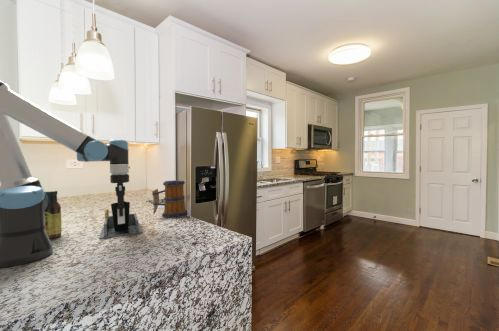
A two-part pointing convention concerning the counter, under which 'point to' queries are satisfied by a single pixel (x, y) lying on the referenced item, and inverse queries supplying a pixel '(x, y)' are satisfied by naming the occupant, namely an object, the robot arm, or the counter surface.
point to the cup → (115, 217)
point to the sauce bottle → (53, 215)
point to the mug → (171, 199)
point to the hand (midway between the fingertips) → (121, 220)
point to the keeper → (110, 232)
